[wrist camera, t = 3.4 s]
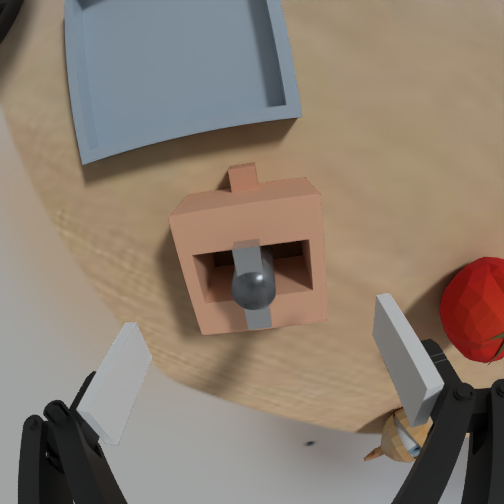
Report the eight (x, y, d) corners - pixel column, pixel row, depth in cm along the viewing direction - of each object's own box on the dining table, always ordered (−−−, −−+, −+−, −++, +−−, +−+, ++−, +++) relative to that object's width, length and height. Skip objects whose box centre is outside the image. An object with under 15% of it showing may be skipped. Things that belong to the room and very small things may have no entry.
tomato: (482, 322, 30) (519, 370, 21) (412, 325, 30) (449, 388, 21) (512, 246, 26) (564, 286, 16) (444, 235, 25) (504, 285, 16)
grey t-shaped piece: (245, 272, 27) (239, 330, 20) (233, 210, 25) (222, 251, 17) (275, 269, 27) (281, 326, 20) (266, 205, 25) (269, 244, 17)
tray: (96, 160, 23) (82, 165, 21) (77, -1, 16) (64, -7, 14) (298, 117, 22) (302, 116, 20) (261, -55, 14) (261, -68, 12)
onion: (464, 430, 29) (389, 492, 30) (436, 402, 38) (370, 457, 39) (448, 408, 28) (361, 479, 29) (417, 377, 37) (343, 439, 38)
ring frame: (212, 295, 29) (202, 334, 23) (183, 174, 24) (161, 190, 18) (315, 282, 28) (327, 320, 22) (303, 155, 23) (317, 165, 18)
